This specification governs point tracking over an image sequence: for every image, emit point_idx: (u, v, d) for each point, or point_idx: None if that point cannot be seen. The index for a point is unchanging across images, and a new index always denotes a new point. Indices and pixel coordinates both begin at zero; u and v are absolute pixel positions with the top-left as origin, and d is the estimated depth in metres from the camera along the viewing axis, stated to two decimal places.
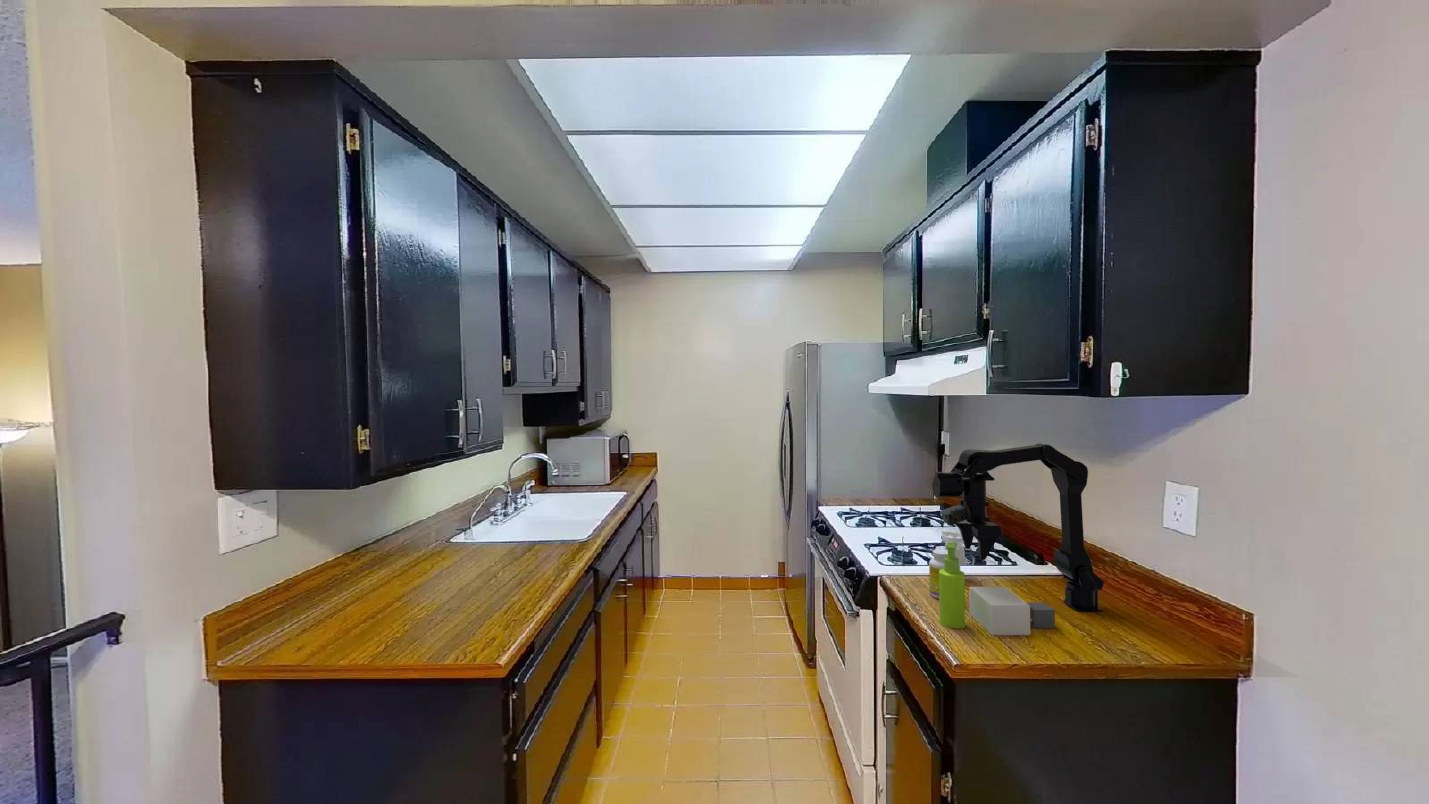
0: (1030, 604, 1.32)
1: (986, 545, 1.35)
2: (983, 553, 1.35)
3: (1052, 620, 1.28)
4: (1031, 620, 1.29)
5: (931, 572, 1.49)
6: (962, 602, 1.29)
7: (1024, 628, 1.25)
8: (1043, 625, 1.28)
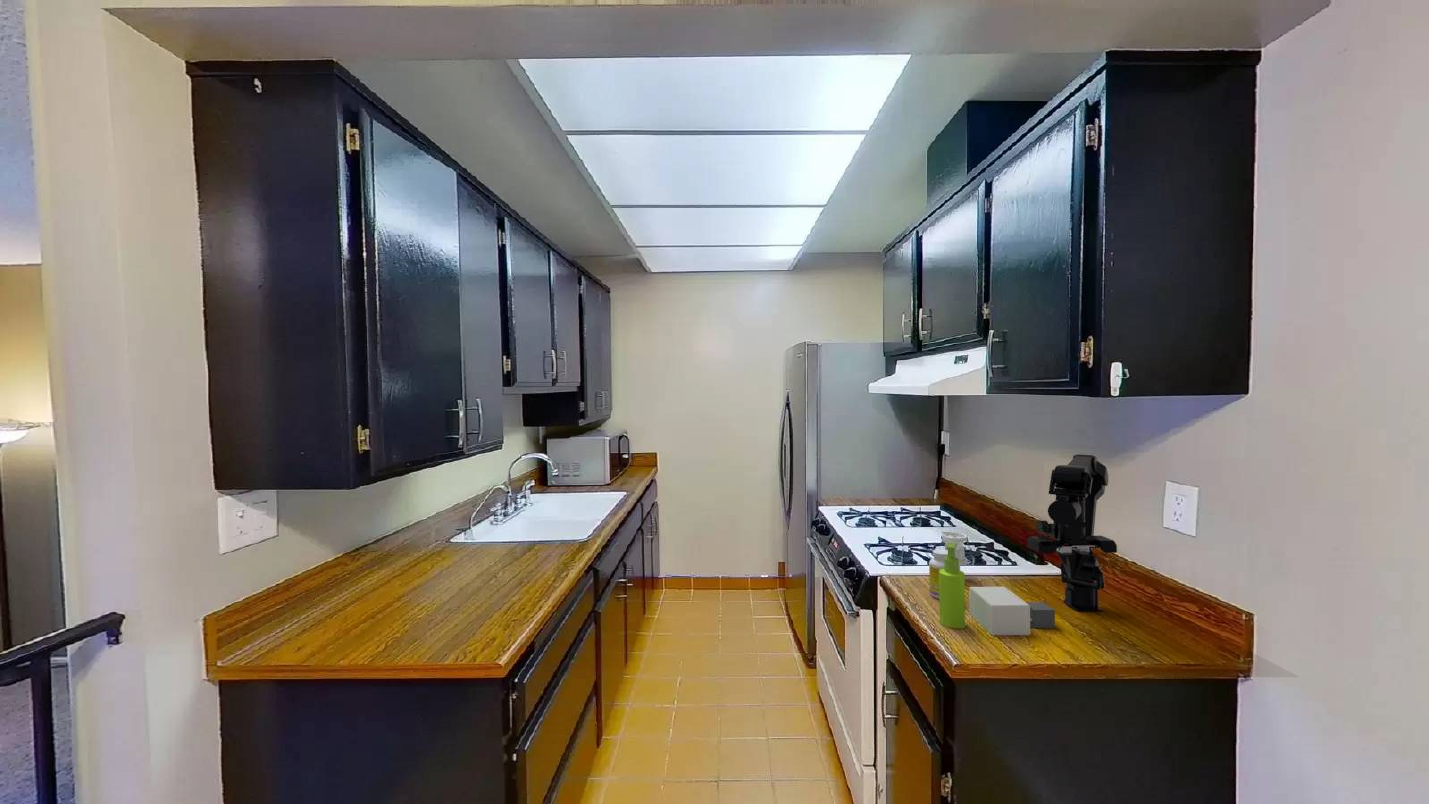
0: (1030, 604, 1.32)
1: (1066, 562, 1.30)
2: (1067, 570, 1.30)
3: (1052, 620, 1.28)
4: (1031, 620, 1.29)
5: (931, 572, 1.49)
6: (962, 602, 1.29)
7: (1024, 628, 1.25)
8: (1043, 625, 1.28)
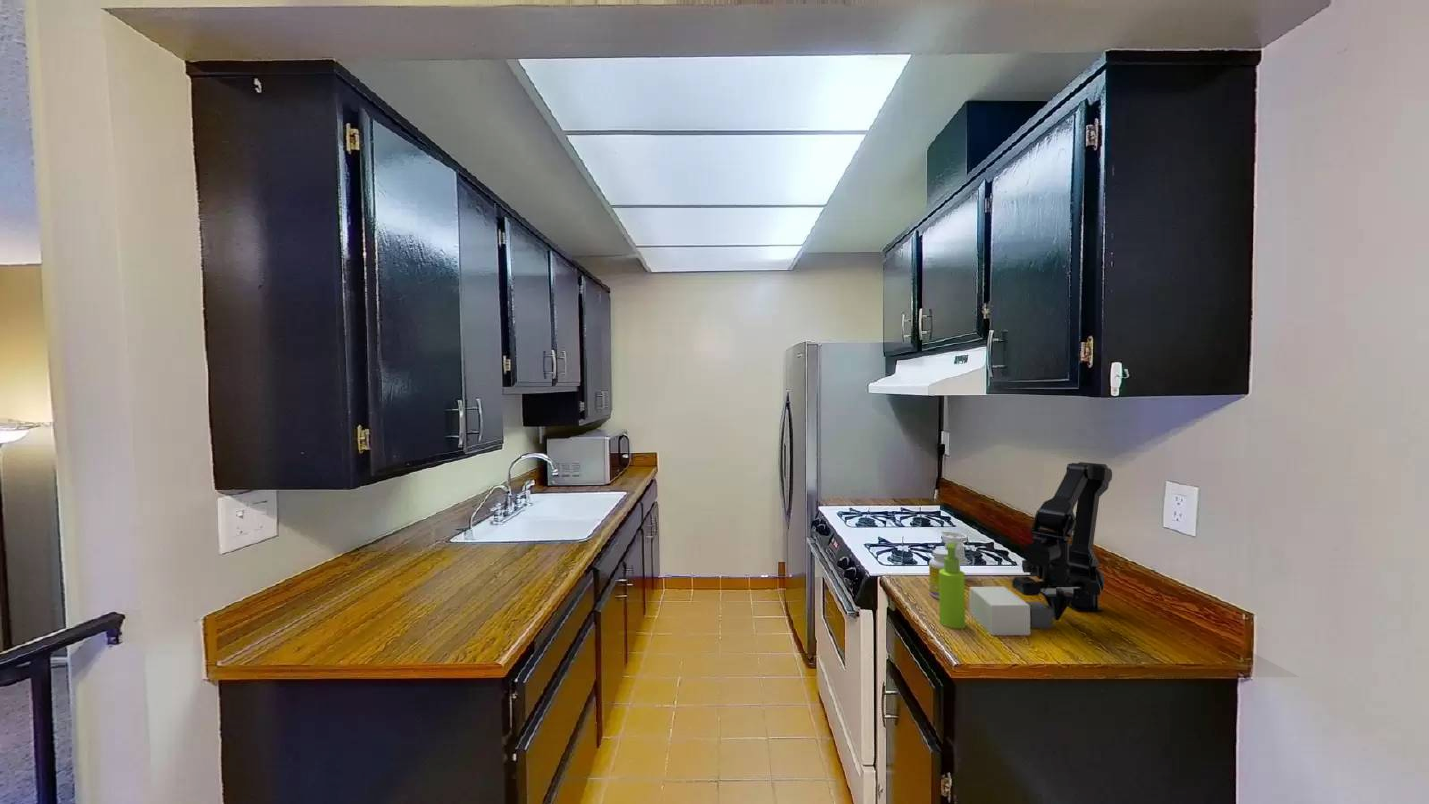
0: (1028, 603, 1.32)
1: (1051, 604, 1.30)
2: None
3: (1050, 620, 1.28)
4: None
5: (931, 572, 1.49)
6: (962, 602, 1.29)
7: (1024, 628, 1.25)
8: (1041, 624, 1.28)
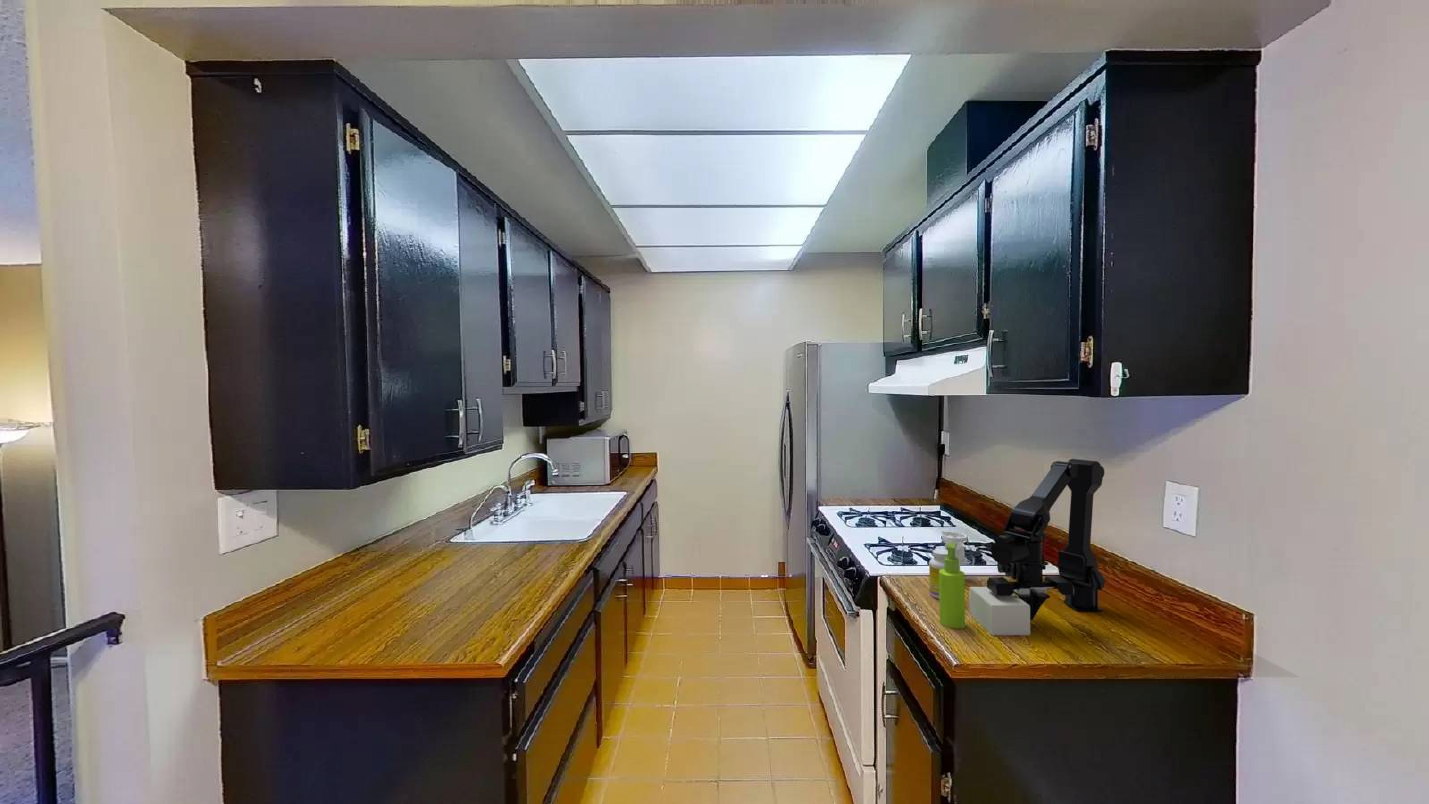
0: None
1: None
2: None
3: None
4: None
5: (931, 572, 1.49)
6: (962, 602, 1.29)
7: (1024, 628, 1.25)
8: None
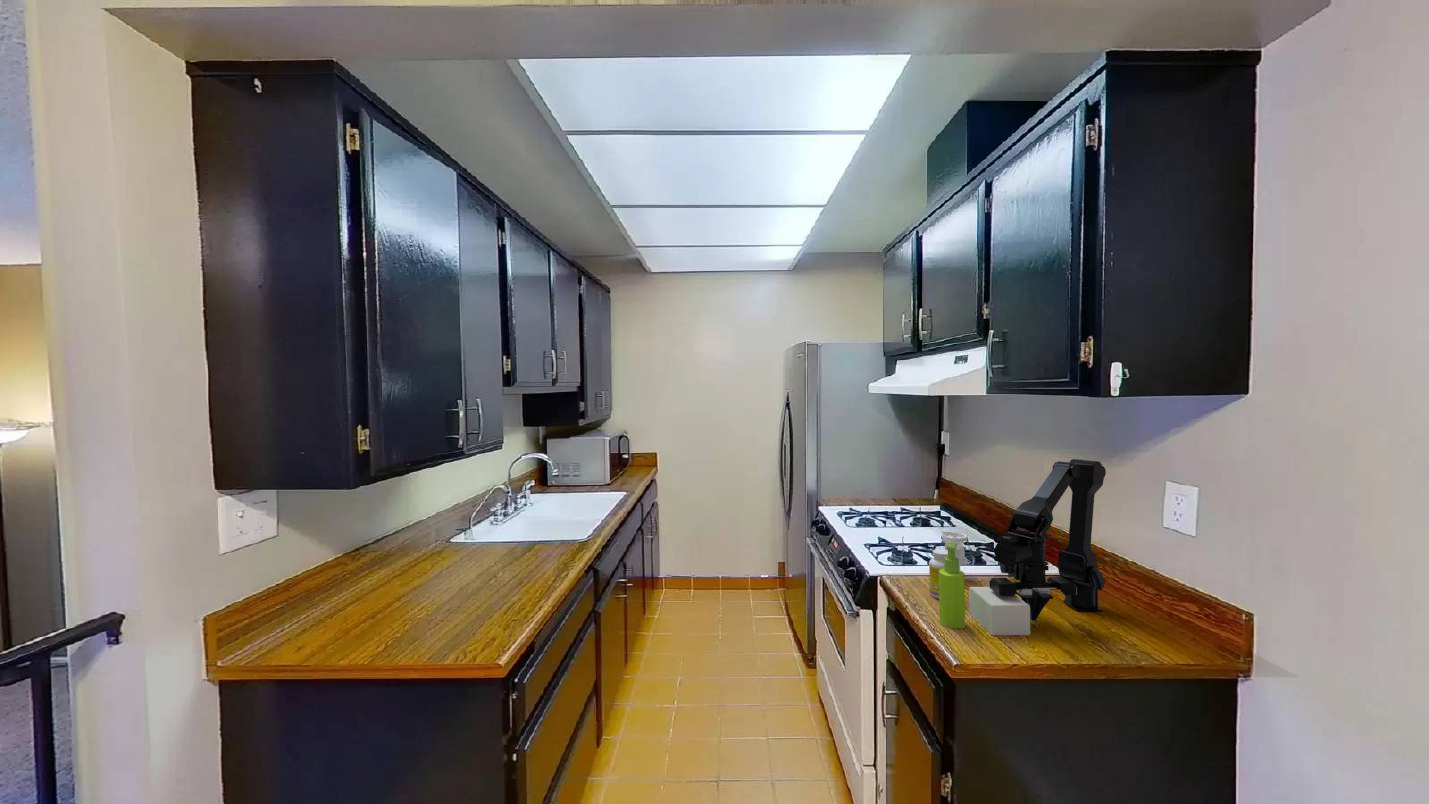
0: None
1: None
2: None
3: None
4: None
5: (931, 572, 1.49)
6: (962, 602, 1.29)
7: (1024, 628, 1.25)
8: None
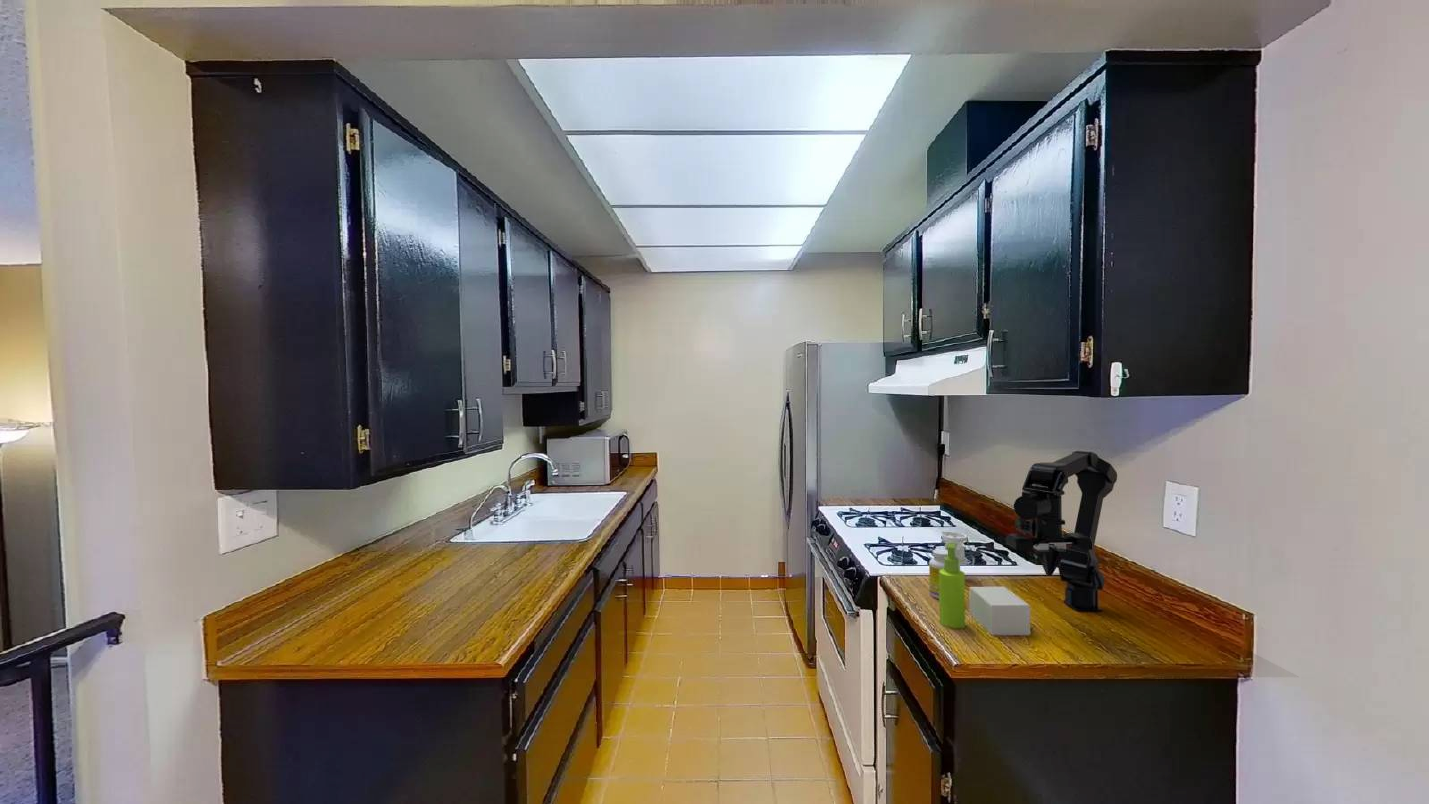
0: None
1: (1043, 559, 1.31)
2: (1044, 567, 1.31)
3: None
4: None
5: (931, 572, 1.49)
6: (962, 602, 1.29)
7: (1024, 628, 1.25)
8: None
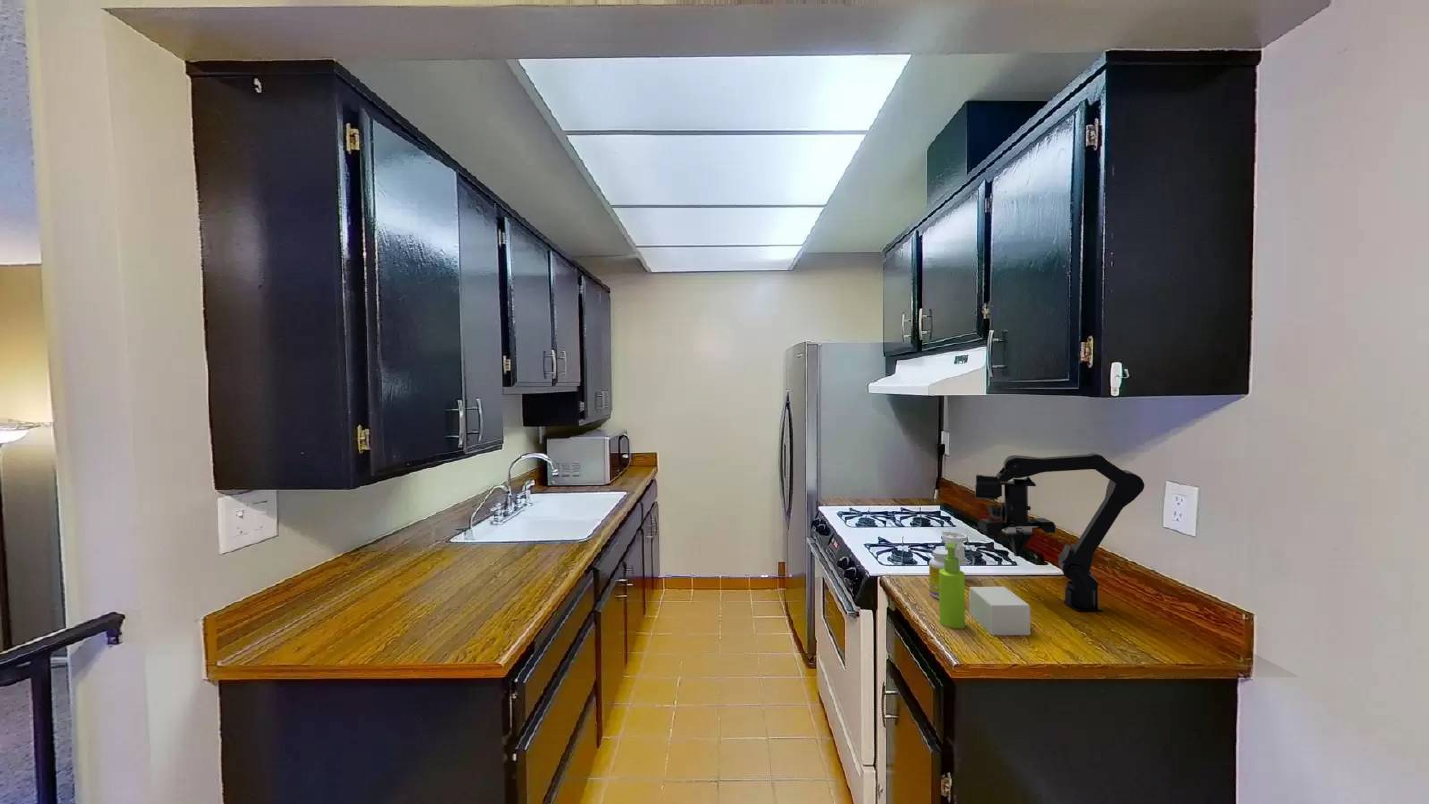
0: None
1: (1012, 542, 1.46)
2: (1012, 549, 1.46)
3: None
4: None
5: (931, 572, 1.49)
6: (962, 602, 1.29)
7: (1024, 628, 1.25)
8: None
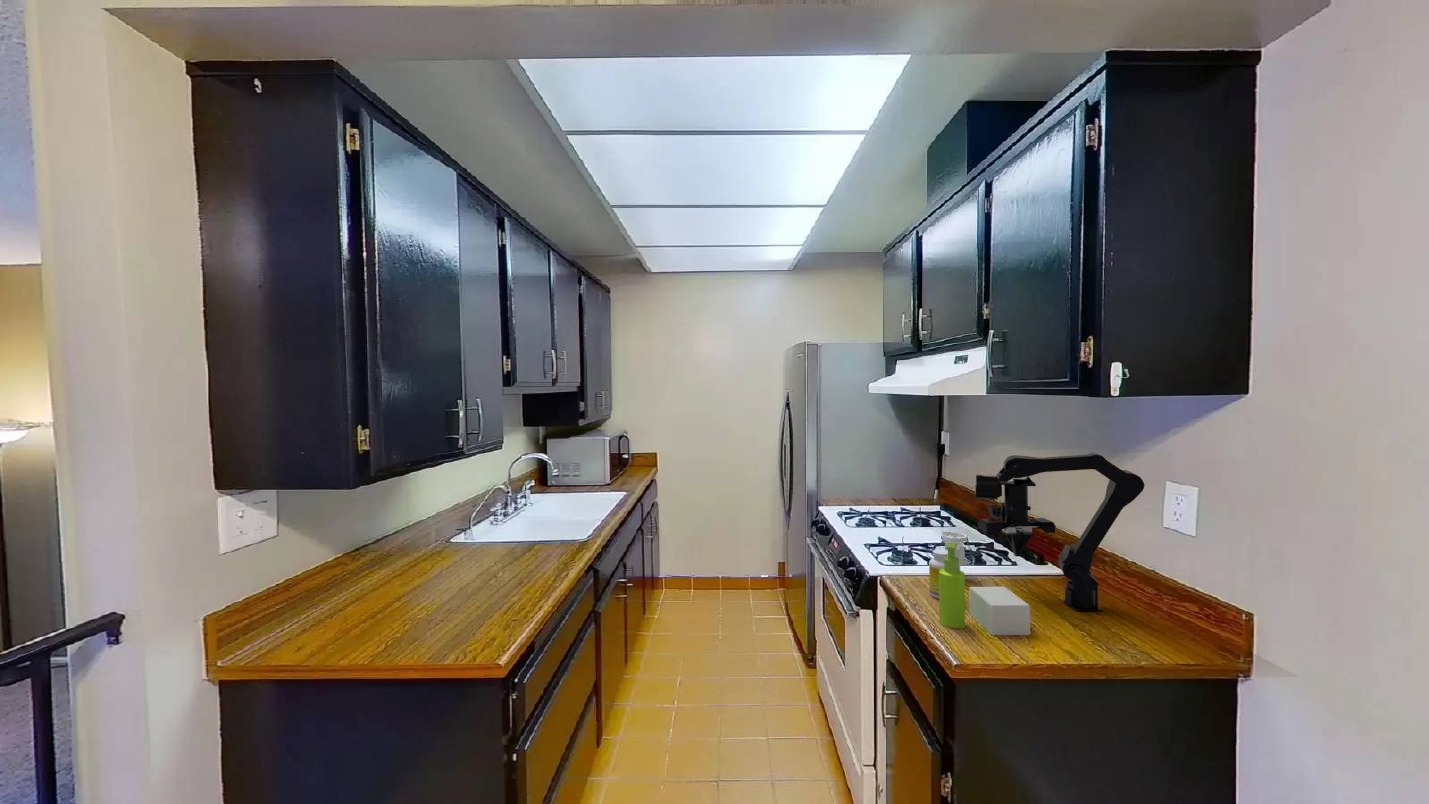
0: None
1: (1012, 542, 1.46)
2: (1012, 549, 1.46)
3: None
4: None
5: (931, 572, 1.49)
6: (962, 602, 1.29)
7: (1024, 628, 1.25)
8: None
